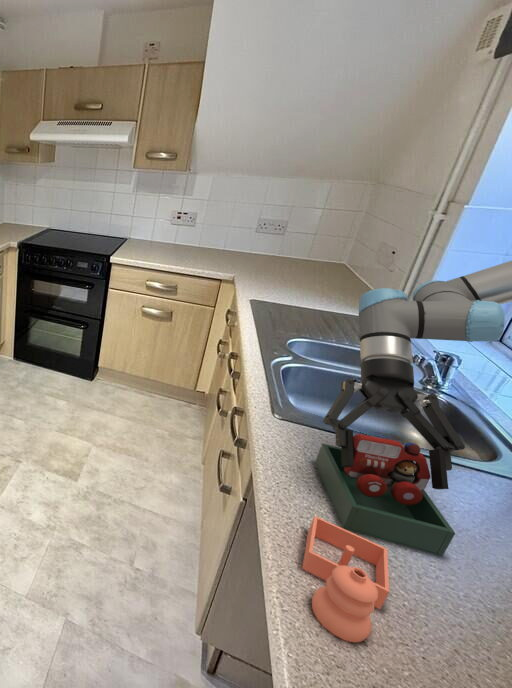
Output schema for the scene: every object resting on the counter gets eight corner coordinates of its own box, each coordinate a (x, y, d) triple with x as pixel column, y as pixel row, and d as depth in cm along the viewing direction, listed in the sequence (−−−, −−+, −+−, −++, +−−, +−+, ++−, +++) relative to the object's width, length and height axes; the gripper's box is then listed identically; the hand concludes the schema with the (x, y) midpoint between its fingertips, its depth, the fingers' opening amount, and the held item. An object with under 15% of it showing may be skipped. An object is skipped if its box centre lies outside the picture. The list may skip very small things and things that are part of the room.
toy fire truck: (431, 511, 72) (456, 464, 68) (346, 492, 75) (366, 446, 72) (408, 482, 78) (430, 437, 74) (331, 466, 82) (348, 423, 78)
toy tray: (393, 484, 84) (404, 461, 82) (441, 558, 68) (455, 533, 66) (313, 465, 88) (322, 443, 86) (342, 530, 73) (352, 505, 71)
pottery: (307, 533, 72) (324, 490, 69) (378, 567, 67) (400, 522, 63) (293, 615, 59) (313, 567, 56) (379, 666, 54) (408, 616, 50)
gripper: (454, 382, 80) (468, 499, 72) (304, 357, 88) (302, 459, 81) (483, 371, 73) (502, 498, 66) (319, 345, 82) (318, 455, 74)
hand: (392, 477), depth 73 cm, fingers closed on toy fire truck, 12 cm apart
